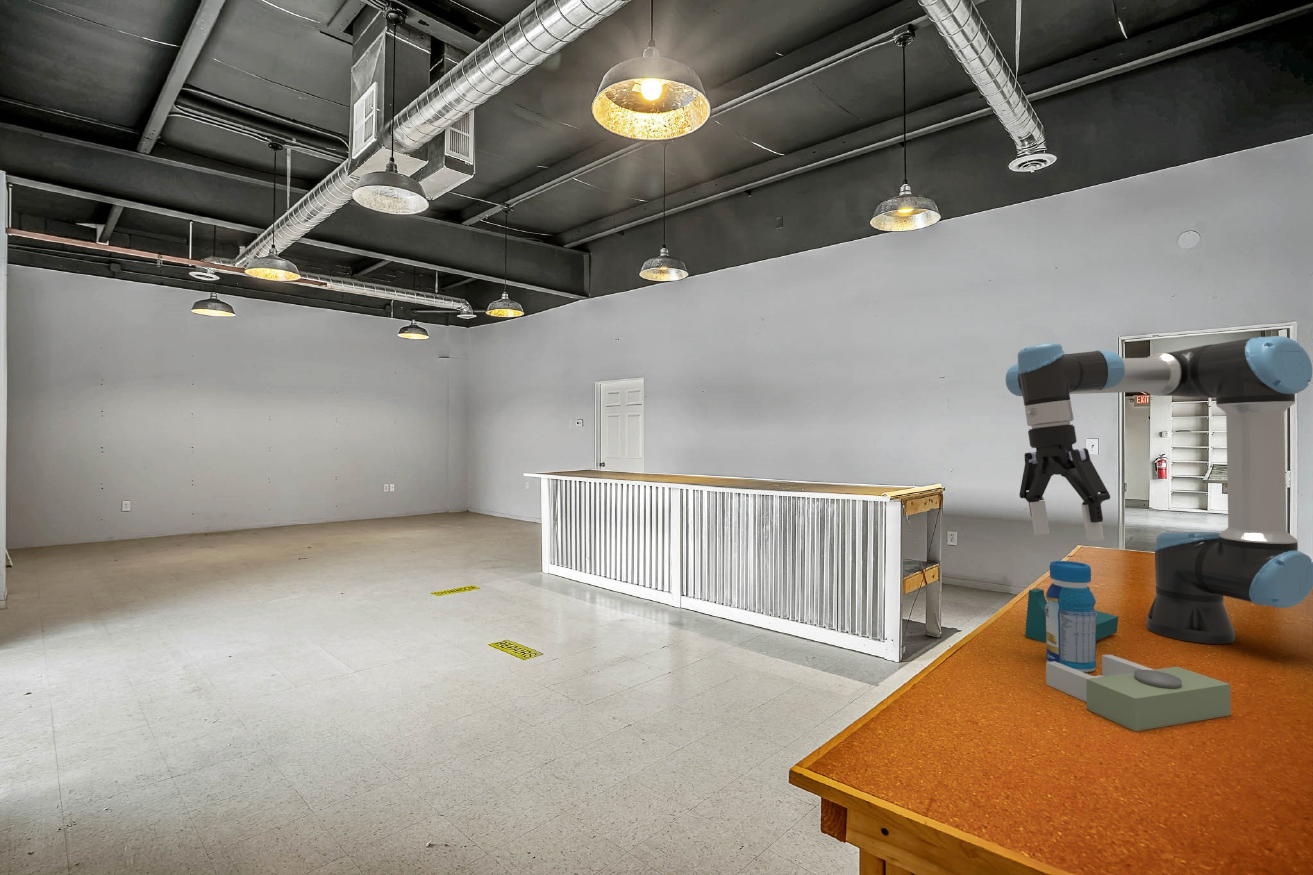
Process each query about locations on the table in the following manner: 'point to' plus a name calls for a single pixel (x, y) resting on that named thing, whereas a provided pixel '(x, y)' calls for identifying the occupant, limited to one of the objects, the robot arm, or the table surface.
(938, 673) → the table surface
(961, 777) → the table surface
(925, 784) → the table surface
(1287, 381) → the robot arm
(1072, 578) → the blue capped bottle
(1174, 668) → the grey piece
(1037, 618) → the teal l-shaped bracket
